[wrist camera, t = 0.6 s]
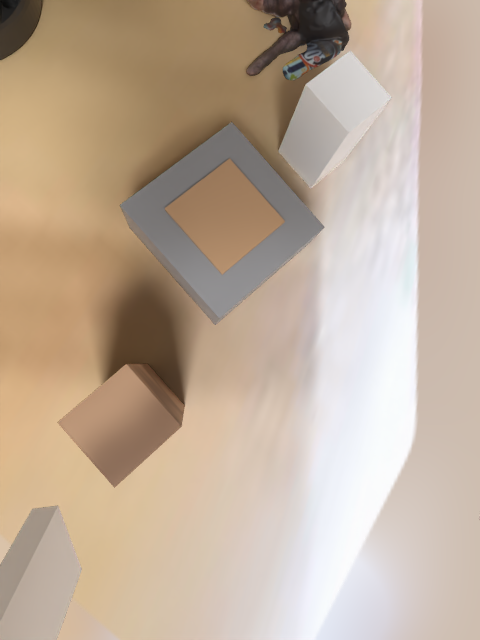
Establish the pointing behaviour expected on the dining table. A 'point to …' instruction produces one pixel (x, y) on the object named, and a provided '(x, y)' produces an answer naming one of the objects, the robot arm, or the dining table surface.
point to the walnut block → (124, 420)
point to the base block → (221, 221)
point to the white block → (332, 118)
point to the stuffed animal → (304, 33)
